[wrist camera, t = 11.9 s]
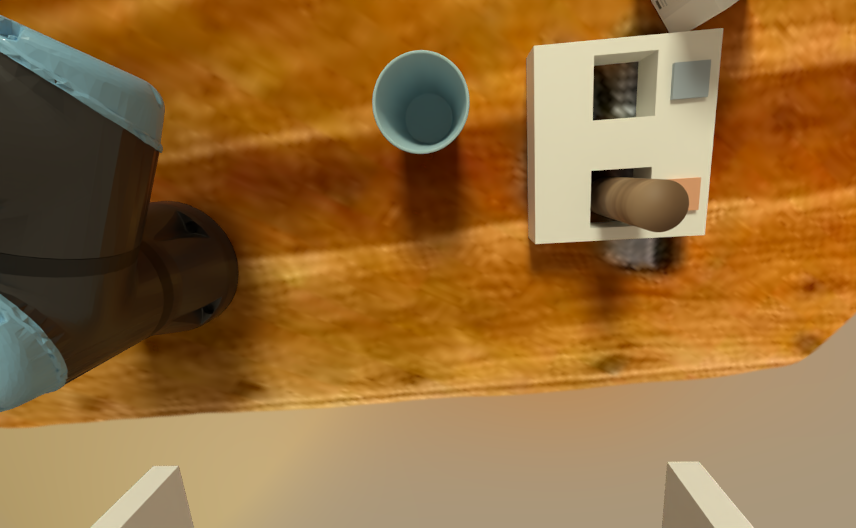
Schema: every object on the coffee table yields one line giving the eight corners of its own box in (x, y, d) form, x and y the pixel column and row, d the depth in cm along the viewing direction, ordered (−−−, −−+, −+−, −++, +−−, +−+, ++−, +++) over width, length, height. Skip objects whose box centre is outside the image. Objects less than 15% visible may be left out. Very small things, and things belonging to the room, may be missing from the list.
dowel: (584, 216, 42) (632, 233, 31) (585, 177, 42) (635, 181, 30) (623, 213, 42) (686, 230, 31) (624, 175, 41) (691, 177, 30)
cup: (473, 86, 40) (478, 59, 30) (458, 163, 42) (458, 161, 32) (400, 73, 41) (380, 41, 30) (388, 150, 42) (366, 144, 32)
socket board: (528, 237, 43) (536, 244, 39) (526, 58, 39) (534, 44, 35) (681, 228, 42) (707, 235, 38) (696, 42, 38) (726, 26, 34)
